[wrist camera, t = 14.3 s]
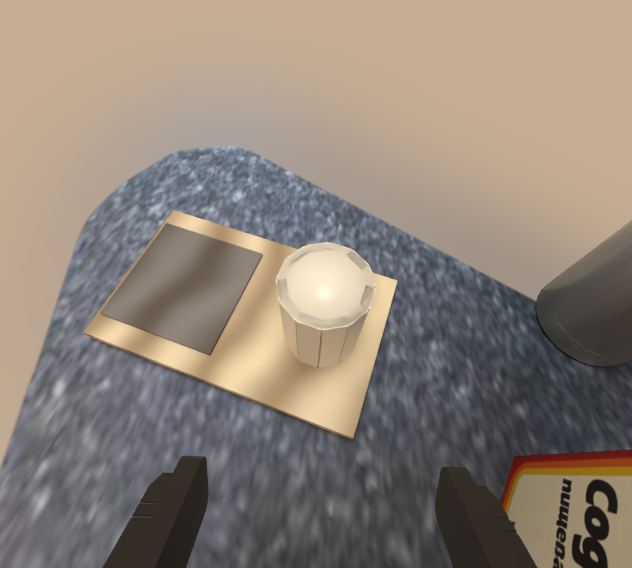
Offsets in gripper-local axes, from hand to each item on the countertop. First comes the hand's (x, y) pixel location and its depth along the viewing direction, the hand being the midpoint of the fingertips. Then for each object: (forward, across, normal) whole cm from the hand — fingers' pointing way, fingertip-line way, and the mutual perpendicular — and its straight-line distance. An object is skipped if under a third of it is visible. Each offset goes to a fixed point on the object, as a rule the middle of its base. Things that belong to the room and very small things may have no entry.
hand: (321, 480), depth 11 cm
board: (+22, +7, +2) cm, 23 cm away
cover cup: (+19, 0, +3) cm, 19 cm away
